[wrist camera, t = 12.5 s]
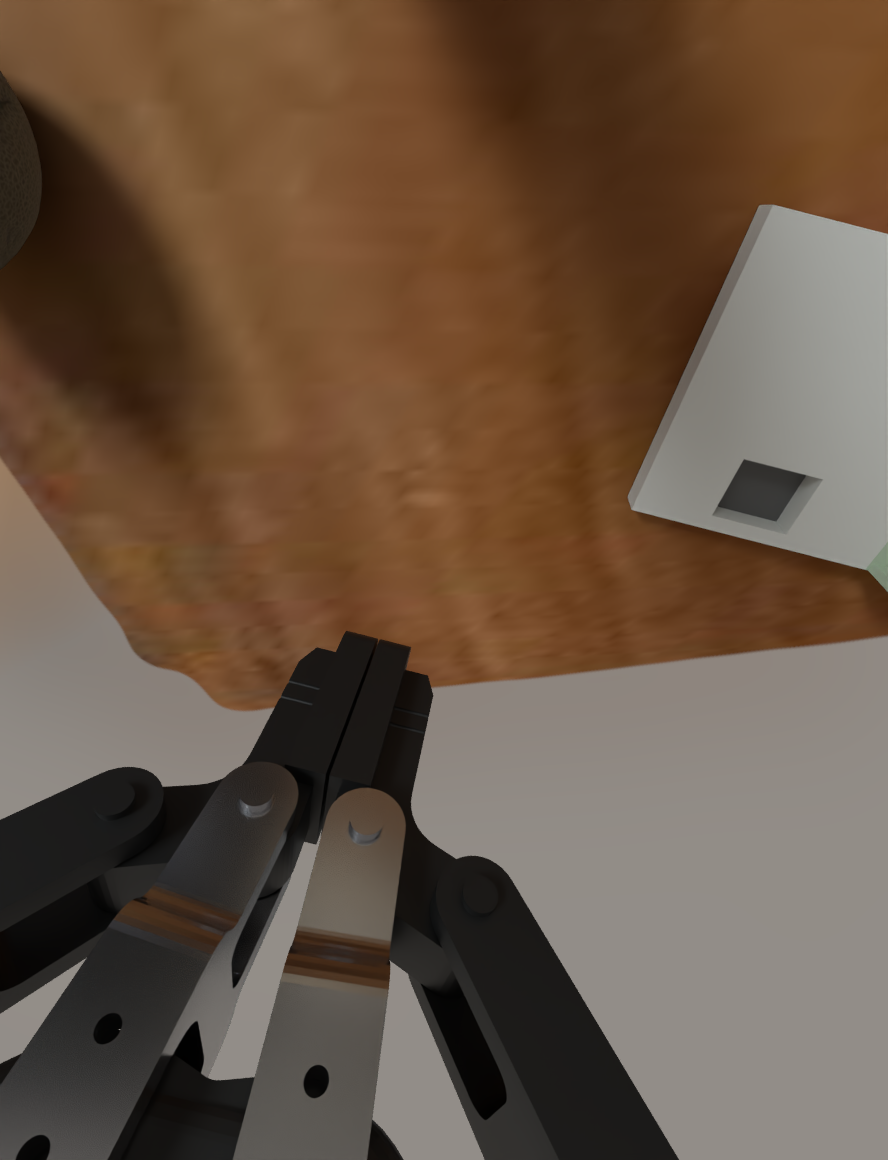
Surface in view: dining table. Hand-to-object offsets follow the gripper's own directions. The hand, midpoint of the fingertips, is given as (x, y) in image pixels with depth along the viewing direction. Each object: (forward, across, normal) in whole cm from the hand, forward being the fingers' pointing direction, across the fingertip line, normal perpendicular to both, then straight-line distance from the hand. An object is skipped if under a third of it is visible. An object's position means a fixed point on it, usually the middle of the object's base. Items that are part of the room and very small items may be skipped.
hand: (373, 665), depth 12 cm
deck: (+27, -24, -3) cm, 36 cm away
